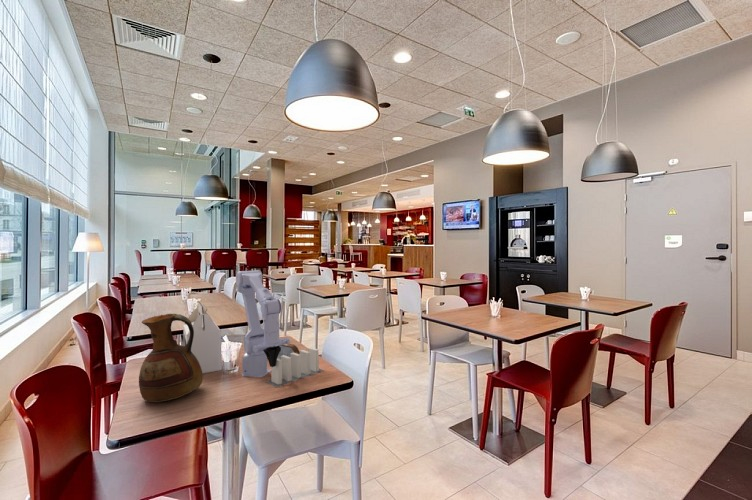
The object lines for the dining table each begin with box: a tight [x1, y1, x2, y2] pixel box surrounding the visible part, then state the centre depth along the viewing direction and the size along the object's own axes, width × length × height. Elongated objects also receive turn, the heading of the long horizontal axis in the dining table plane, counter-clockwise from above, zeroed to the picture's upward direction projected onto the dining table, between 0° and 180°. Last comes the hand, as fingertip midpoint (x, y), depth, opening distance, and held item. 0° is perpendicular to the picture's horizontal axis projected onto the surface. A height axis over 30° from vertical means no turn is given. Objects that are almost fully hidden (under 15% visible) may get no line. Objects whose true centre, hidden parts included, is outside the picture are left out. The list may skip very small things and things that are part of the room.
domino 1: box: [270, 358, 282, 385], centre depth 140 cm, size 2×5×9 cm, turn 47°
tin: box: [277, 343, 300, 360], centre depth 167 cm, size 15×3×8 cm, turn 58°
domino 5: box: [307, 347, 320, 372], centre depth 153 cm, size 2×5×9 cm, turn 47°
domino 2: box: [281, 355, 292, 381], centre depth 143 cm, size 2×5×9 cm, turn 47°
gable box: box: [182, 301, 223, 375], centre depth 163 cm, size 22×13×28 cm, turn 31°
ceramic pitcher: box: [138, 313, 204, 403], centre depth 131 cm, size 20×20×30 cm
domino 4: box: [299, 349, 310, 375], centre depth 150 cm, size 2×5×9 cm, turn 47°
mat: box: [265, 368, 325, 388], centre depth 147 cm, size 23×8×1 cm, turn 137°
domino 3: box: [290, 352, 301, 378], centre depth 147 cm, size 2×5×9 cm, turn 47°
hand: (272, 366), depth 139 cm, fingers closed
